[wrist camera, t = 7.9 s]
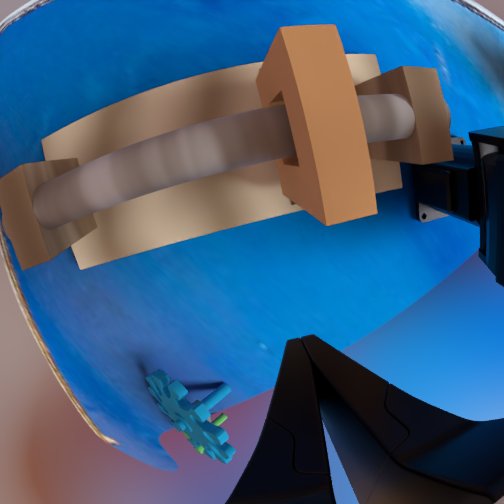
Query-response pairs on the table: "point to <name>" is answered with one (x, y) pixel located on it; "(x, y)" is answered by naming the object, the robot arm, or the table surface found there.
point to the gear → (193, 415)
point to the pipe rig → (199, 162)
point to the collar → (319, 124)
